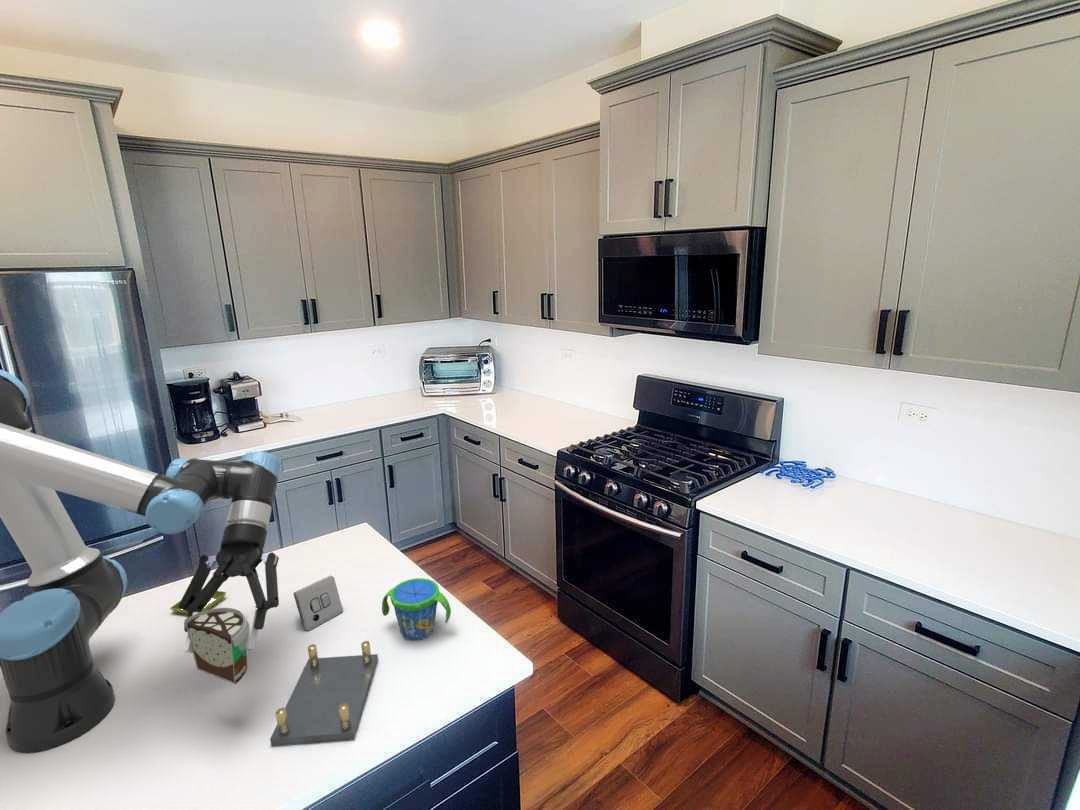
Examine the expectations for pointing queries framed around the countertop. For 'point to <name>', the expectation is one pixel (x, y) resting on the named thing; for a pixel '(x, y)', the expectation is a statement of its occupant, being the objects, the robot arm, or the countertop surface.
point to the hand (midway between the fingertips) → (219, 650)
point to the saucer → (217, 596)
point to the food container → (219, 642)
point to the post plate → (326, 699)
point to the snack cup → (416, 606)
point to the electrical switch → (318, 602)
